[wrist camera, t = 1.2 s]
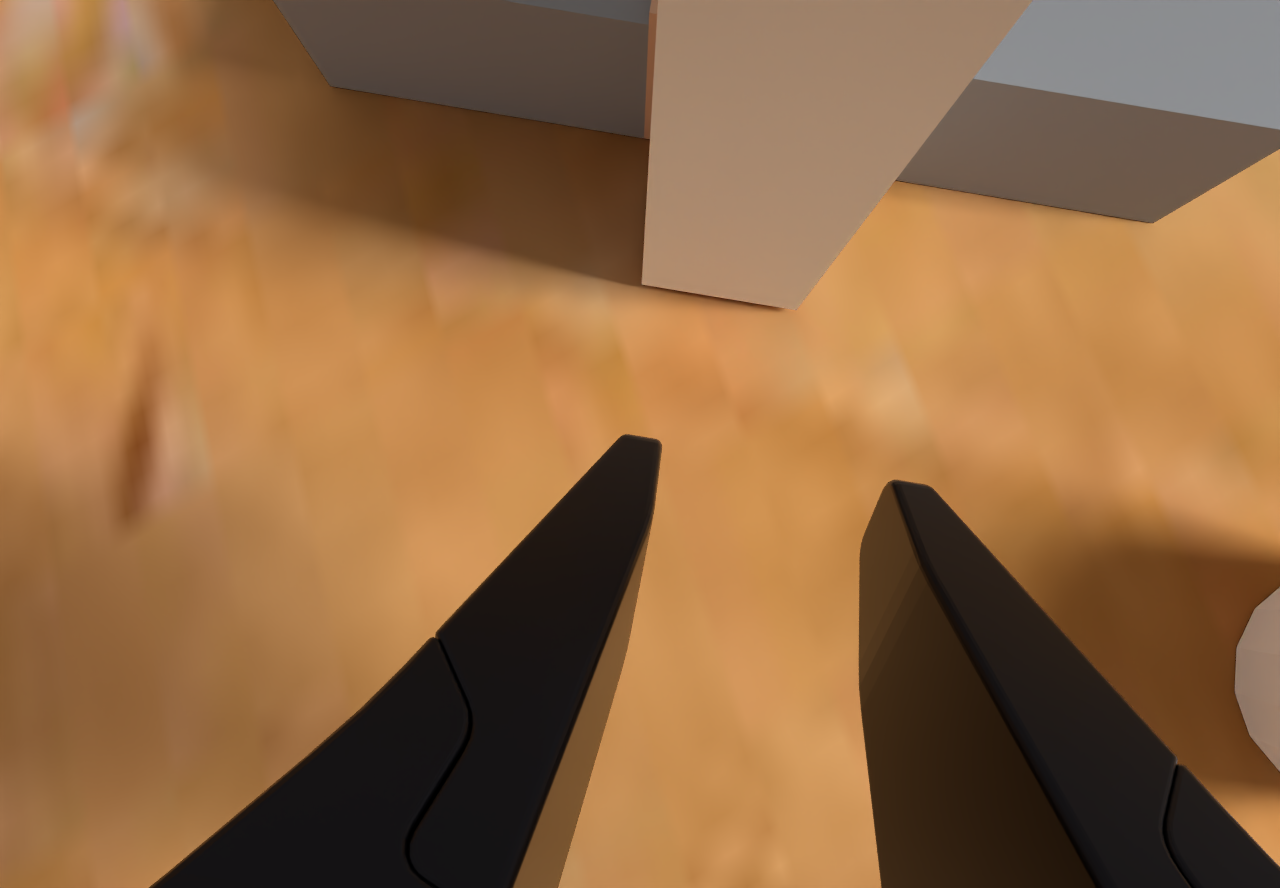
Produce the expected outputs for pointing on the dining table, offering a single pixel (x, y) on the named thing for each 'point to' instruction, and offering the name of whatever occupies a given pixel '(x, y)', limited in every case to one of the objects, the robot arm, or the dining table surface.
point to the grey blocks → (956, 149)
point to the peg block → (793, 129)
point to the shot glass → (1261, 676)
